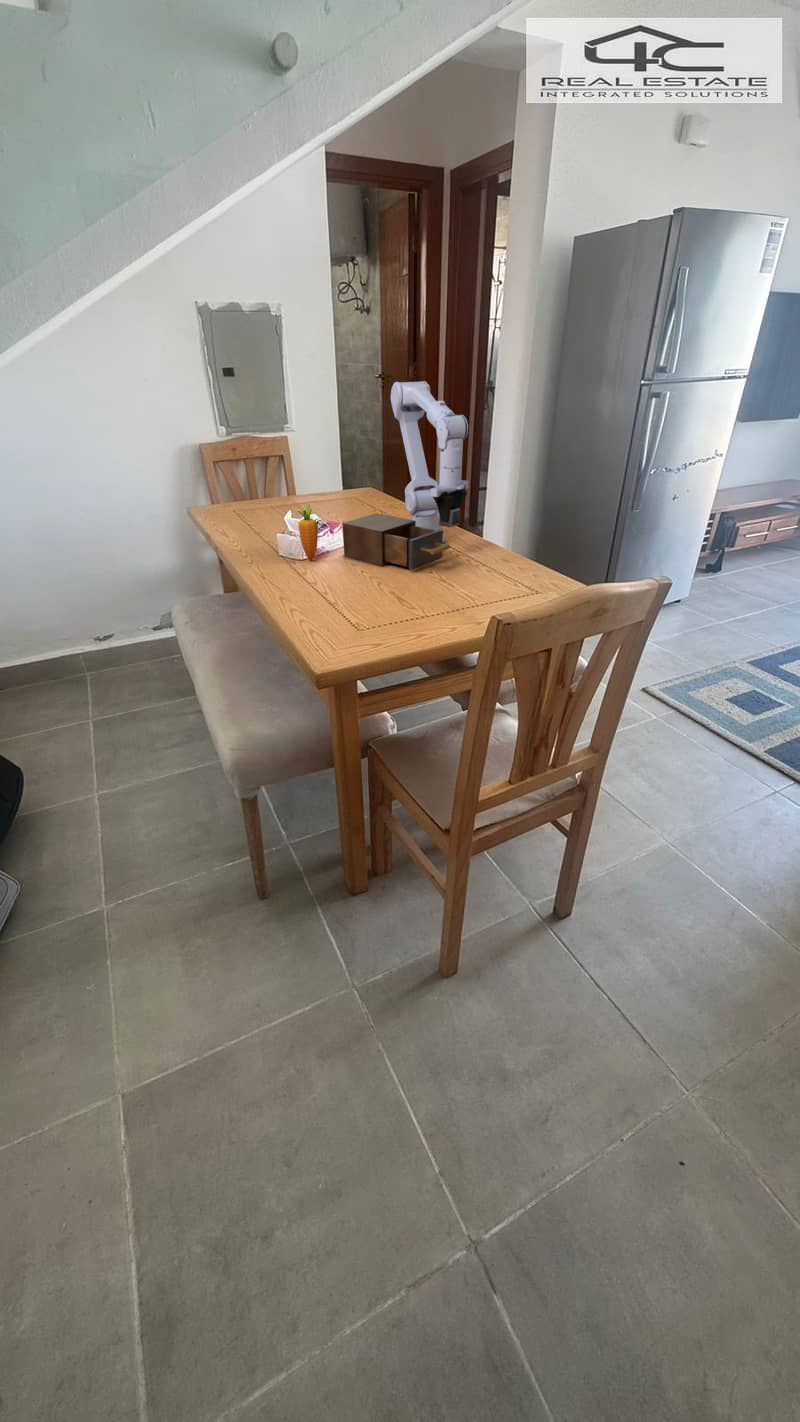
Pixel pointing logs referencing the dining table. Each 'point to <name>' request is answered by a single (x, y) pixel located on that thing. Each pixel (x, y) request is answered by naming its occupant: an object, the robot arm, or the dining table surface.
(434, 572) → the dining table surface
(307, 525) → the carrot
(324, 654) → the dining table surface
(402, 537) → the drawer
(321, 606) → the dining table surface
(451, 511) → the striped metal cube
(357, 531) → the cabinet
